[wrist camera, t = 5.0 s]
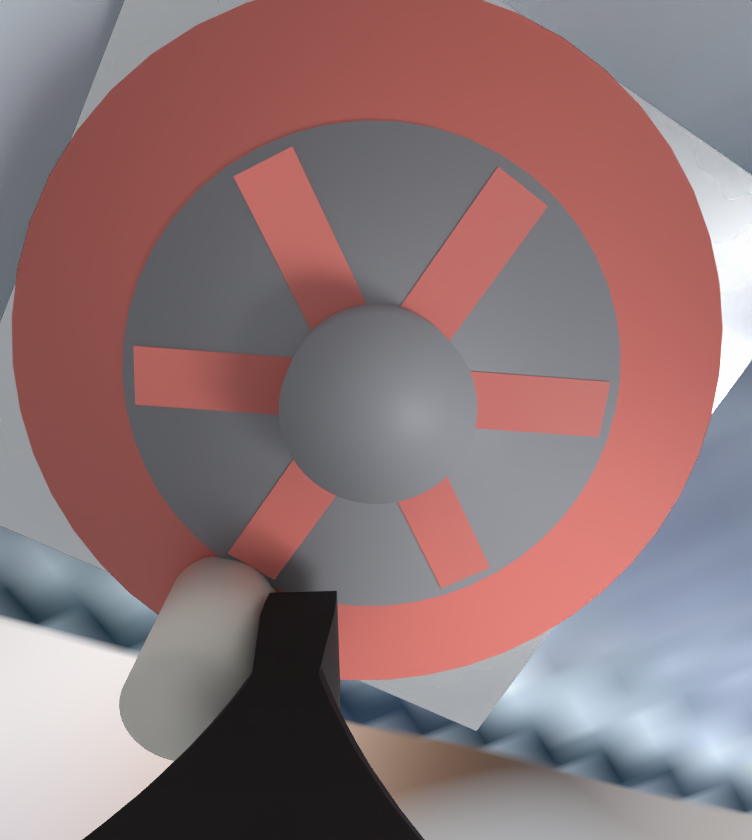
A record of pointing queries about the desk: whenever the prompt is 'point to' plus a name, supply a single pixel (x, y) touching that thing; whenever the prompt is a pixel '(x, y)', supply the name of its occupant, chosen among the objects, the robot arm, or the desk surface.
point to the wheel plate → (489, 679)
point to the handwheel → (362, 338)
